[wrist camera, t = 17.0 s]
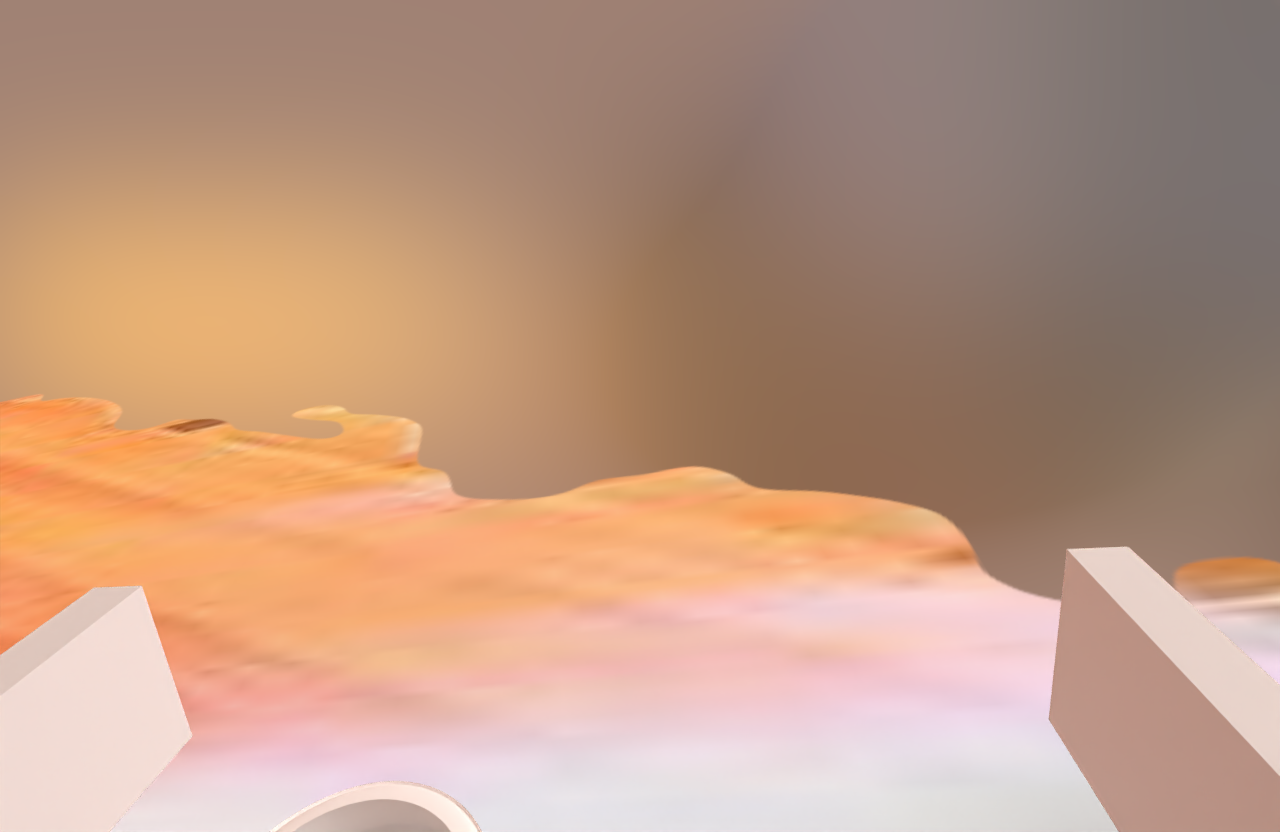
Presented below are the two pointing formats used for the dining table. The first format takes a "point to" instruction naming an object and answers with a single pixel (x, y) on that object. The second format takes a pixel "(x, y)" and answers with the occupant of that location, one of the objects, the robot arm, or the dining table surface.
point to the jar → (383, 811)
